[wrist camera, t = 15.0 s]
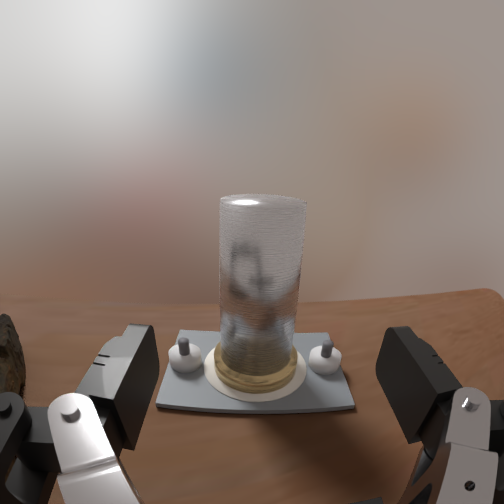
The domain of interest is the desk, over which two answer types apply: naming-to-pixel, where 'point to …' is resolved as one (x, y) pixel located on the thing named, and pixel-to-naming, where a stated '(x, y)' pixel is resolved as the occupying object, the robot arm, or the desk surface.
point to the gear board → (232, 401)
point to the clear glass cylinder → (259, 290)
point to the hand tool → (10, 362)
